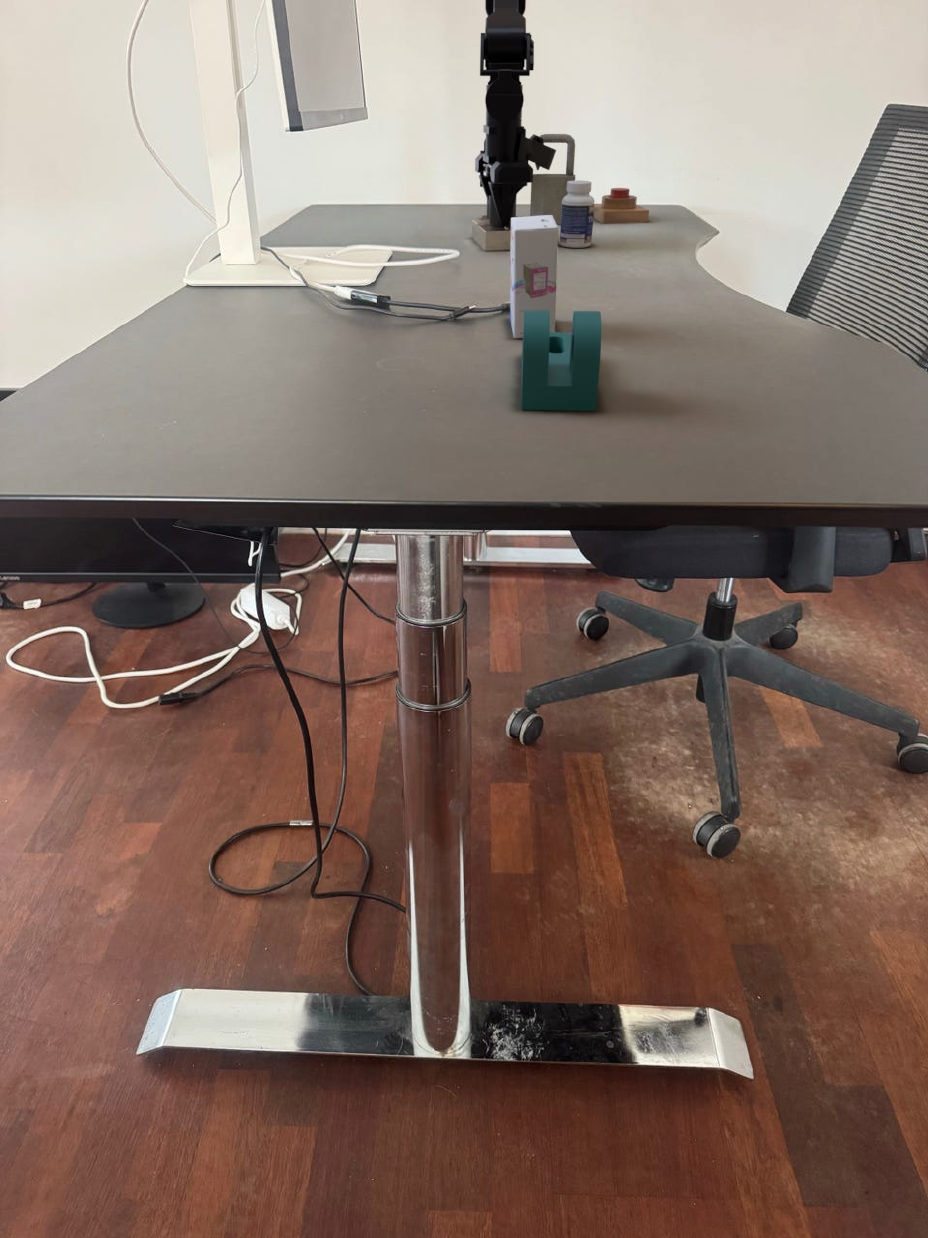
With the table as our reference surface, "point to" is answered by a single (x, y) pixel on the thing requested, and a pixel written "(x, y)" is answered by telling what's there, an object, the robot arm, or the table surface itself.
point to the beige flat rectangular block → (491, 235)
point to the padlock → (552, 182)
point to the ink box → (532, 268)
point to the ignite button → (619, 193)
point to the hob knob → (493, 213)
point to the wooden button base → (620, 210)
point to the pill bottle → (577, 215)
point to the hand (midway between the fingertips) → (501, 224)
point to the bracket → (560, 362)
